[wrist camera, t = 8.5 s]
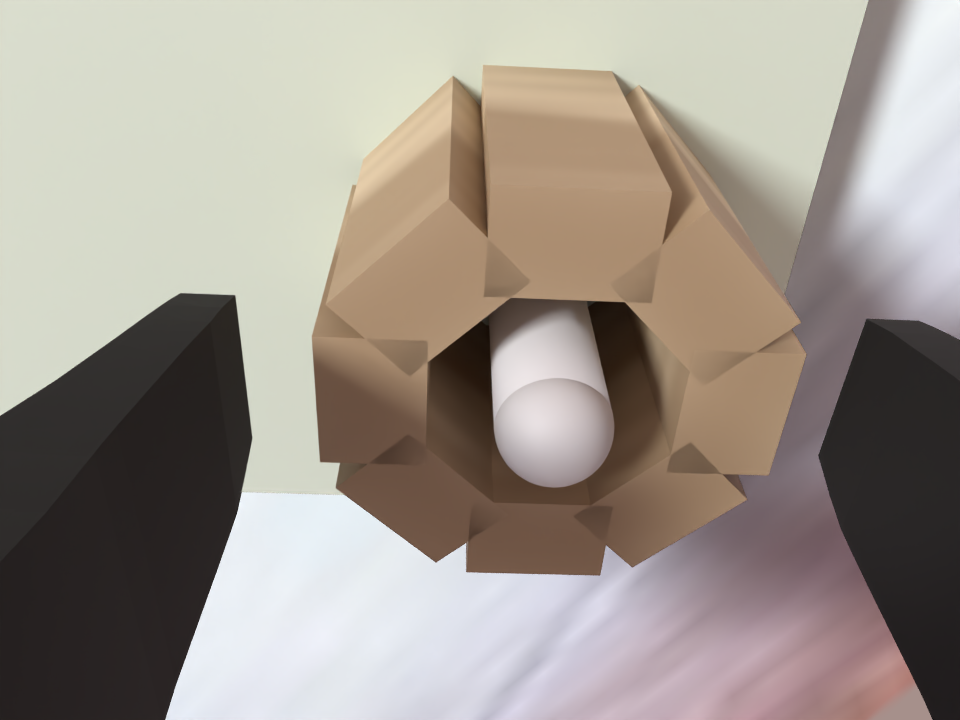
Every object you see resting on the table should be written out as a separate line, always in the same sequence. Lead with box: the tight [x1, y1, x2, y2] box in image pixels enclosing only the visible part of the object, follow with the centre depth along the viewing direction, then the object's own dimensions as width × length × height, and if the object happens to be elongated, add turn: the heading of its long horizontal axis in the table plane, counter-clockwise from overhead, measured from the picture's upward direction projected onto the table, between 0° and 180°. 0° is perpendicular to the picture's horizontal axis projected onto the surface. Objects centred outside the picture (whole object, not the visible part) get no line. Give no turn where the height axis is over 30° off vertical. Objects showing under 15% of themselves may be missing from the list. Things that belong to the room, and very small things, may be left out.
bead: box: [312, 65, 807, 575], centre depth 11 cm, size 5×5×4 cm
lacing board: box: [0, 0, 869, 495], centre depth 11 cm, size 10×17×6 cm, turn 87°
